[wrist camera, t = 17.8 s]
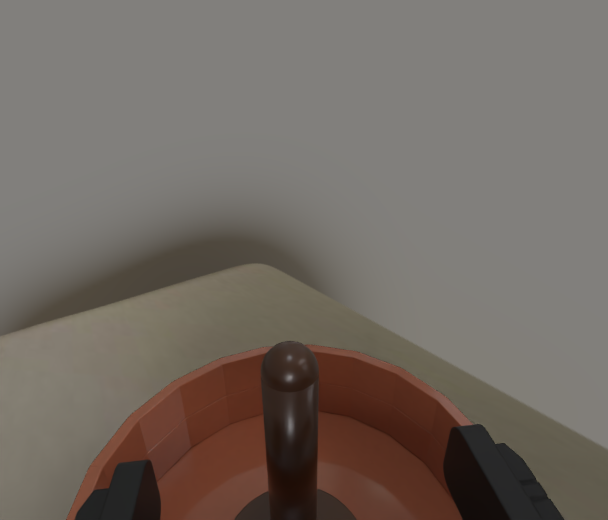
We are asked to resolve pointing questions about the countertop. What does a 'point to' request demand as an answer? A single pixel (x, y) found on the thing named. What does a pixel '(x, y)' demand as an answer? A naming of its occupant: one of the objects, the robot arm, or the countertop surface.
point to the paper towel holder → (292, 440)
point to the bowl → (252, 452)
